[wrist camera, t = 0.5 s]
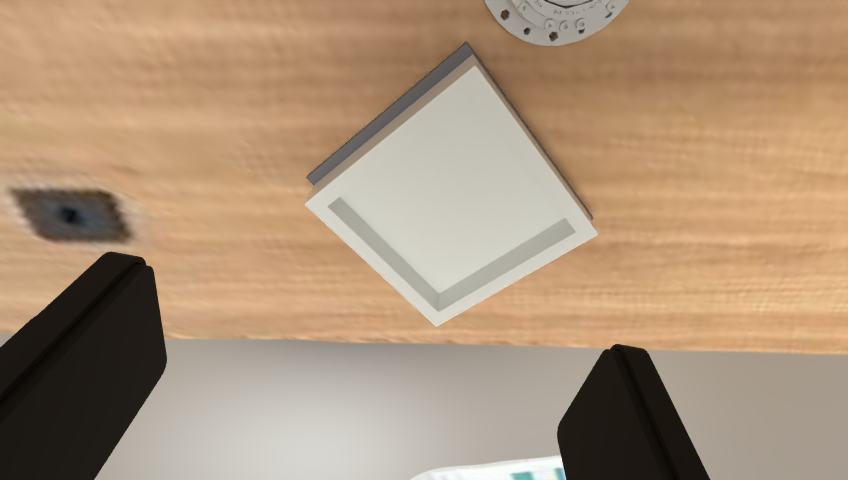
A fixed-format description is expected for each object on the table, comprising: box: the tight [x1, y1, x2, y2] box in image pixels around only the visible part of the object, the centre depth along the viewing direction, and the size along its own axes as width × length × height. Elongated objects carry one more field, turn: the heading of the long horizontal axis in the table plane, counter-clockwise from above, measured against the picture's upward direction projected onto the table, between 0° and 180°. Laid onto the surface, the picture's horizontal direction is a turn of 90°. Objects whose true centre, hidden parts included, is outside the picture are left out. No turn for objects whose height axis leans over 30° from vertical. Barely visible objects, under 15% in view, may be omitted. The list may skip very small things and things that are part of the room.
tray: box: [304, 54, 599, 327], centre depth 35 cm, size 15×15×3 cm
